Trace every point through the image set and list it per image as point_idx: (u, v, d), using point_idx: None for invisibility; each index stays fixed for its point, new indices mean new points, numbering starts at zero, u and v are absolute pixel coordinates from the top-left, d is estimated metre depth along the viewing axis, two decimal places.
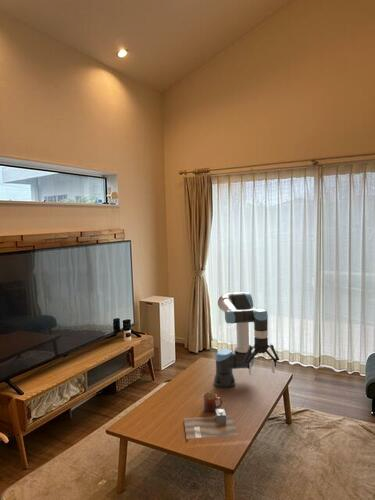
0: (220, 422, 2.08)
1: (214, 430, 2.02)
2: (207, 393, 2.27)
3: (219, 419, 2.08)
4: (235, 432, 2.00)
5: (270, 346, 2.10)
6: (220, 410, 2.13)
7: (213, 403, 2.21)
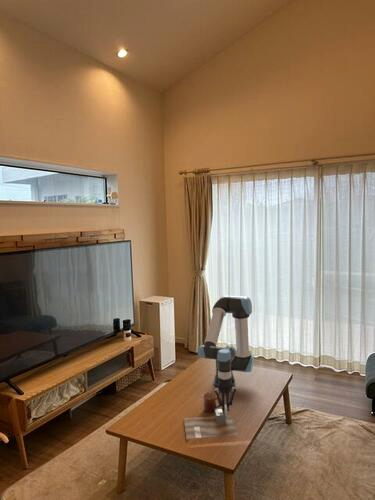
0: (219, 422, 2.08)
1: (214, 430, 2.02)
2: (207, 393, 2.27)
3: (218, 419, 2.08)
4: (235, 432, 2.00)
5: (233, 389, 2.10)
6: (219, 410, 2.12)
7: (213, 403, 2.21)
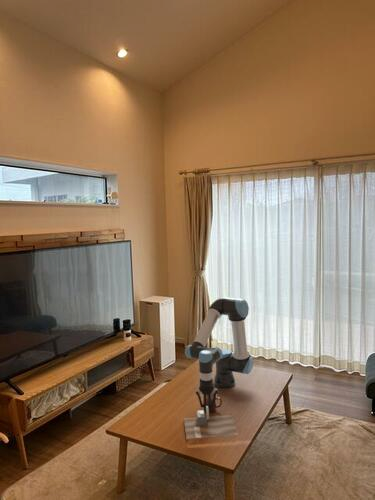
0: (201, 423, 2.08)
1: (214, 430, 2.02)
2: None
3: (200, 420, 2.07)
4: (235, 432, 2.00)
5: (214, 390, 2.10)
6: (201, 411, 2.12)
7: None
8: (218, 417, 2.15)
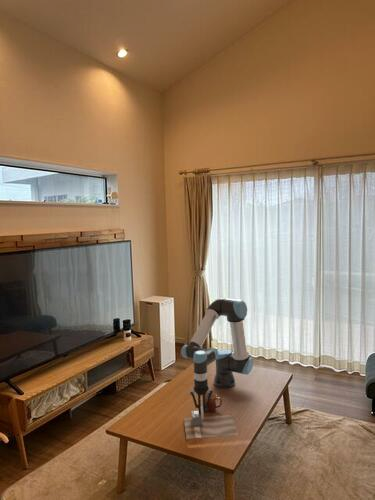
0: (195, 424, 2.07)
1: (214, 430, 2.02)
2: (207, 393, 2.27)
3: (194, 420, 2.07)
4: (235, 432, 2.00)
5: (209, 390, 2.09)
6: (196, 412, 2.11)
7: (213, 403, 2.21)
8: (218, 417, 2.15)
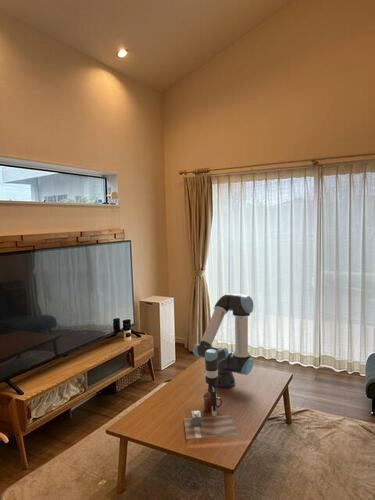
0: (195, 424, 2.07)
1: (214, 430, 2.02)
2: (207, 393, 2.27)
3: (194, 420, 2.07)
4: (235, 432, 2.00)
5: None
6: (196, 412, 2.11)
7: None
8: (218, 417, 2.15)
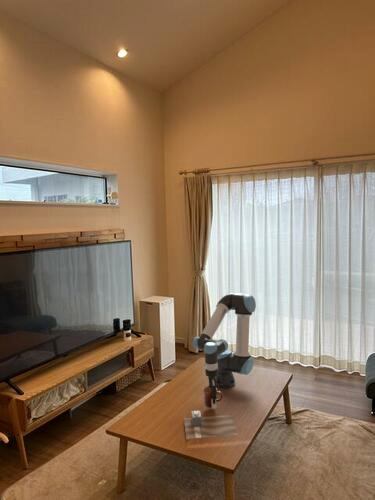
0: (195, 424, 2.07)
1: (214, 430, 2.02)
2: (208, 387, 2.26)
3: (194, 420, 2.07)
4: (235, 432, 2.00)
5: (212, 382, 2.17)
6: (196, 412, 2.11)
7: None
8: (218, 417, 2.15)
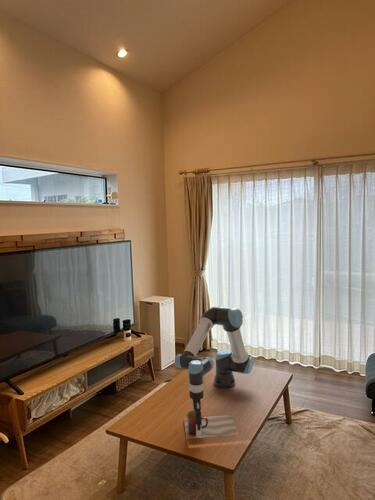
0: None
1: (214, 430, 2.02)
2: (192, 411, 2.04)
3: None
4: (235, 432, 2.00)
5: None
6: None
7: None
8: (218, 417, 2.15)
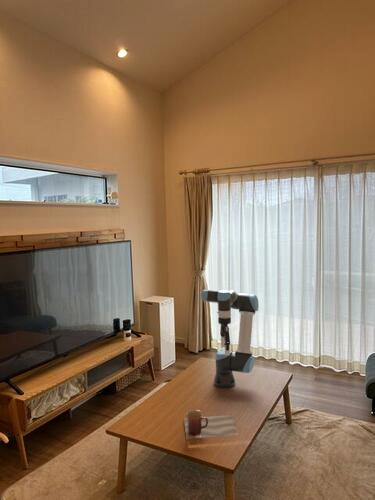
0: None
1: (214, 430, 2.02)
2: (192, 411, 2.04)
3: None
4: (235, 432, 2.00)
5: None
6: None
7: (198, 423, 1.97)
8: (218, 417, 2.15)
